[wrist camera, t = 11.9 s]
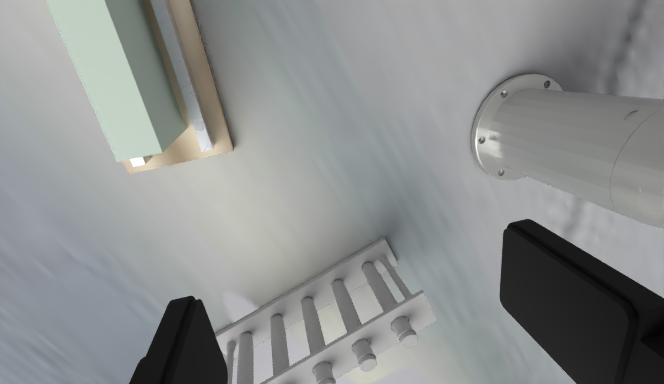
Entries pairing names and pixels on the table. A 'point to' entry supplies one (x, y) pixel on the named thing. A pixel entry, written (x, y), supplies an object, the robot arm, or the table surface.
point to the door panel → (121, 73)
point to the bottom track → (186, 88)
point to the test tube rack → (303, 304)
